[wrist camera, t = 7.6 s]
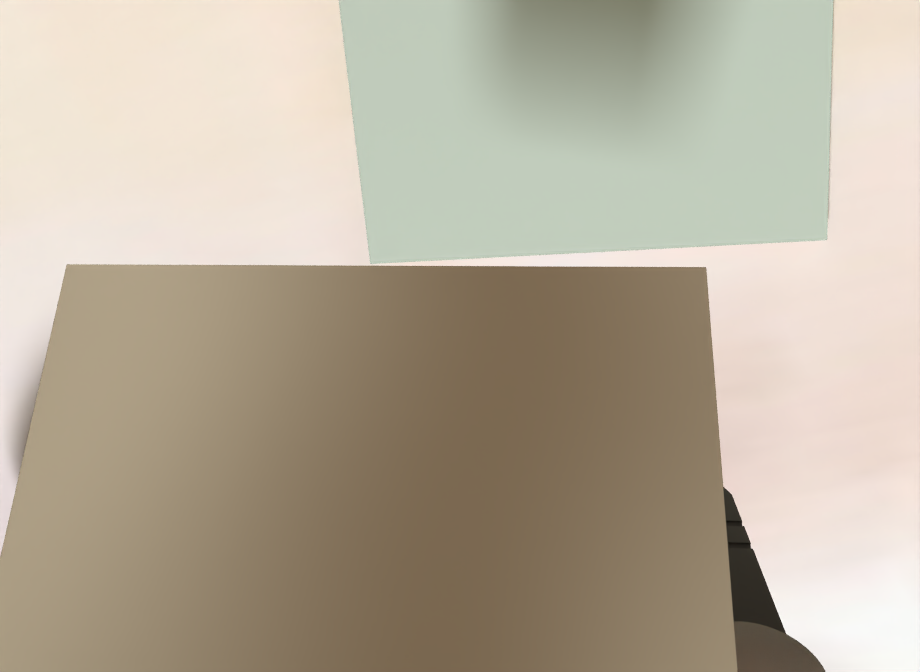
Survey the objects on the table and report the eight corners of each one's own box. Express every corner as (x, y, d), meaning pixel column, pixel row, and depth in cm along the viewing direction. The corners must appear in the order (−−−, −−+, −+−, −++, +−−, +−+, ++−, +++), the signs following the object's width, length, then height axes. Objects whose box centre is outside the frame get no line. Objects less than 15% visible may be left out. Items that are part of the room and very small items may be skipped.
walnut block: (322, 754, 15) (-112, 1044, 5) (345, 488, 17) (66, 264, 6) (589, 768, 15) (772, 1118, 4) (585, 494, 16) (704, 266, 6)
